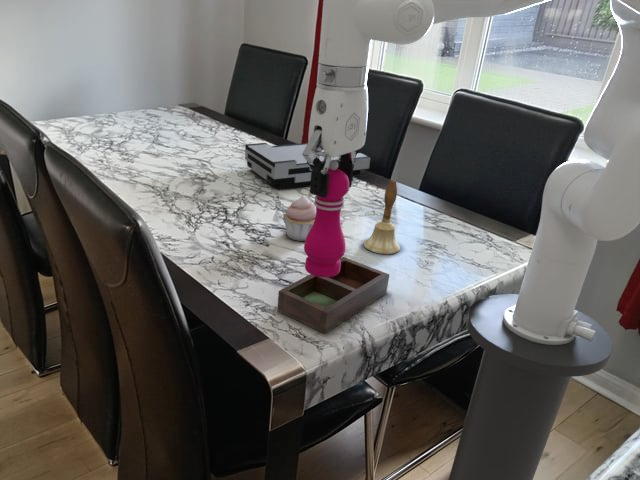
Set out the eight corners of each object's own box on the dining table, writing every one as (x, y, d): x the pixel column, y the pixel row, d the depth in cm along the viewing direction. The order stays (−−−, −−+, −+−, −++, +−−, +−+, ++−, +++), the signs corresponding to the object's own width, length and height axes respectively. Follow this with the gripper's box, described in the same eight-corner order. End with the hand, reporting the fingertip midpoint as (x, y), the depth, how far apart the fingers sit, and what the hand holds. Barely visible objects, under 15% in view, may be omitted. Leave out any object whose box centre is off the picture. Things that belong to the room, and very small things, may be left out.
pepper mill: (319, 257, 107) (330, 151, 98) (350, 270, 103) (364, 160, 93) (293, 268, 103) (302, 158, 93) (325, 283, 99) (337, 169, 89)
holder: (386, 293, 114) (389, 274, 112) (324, 334, 100) (327, 313, 98) (341, 275, 120) (343, 256, 118) (277, 311, 107) (278, 290, 105)
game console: (367, 180, 176) (370, 153, 172) (273, 191, 164) (275, 163, 160) (332, 161, 193) (334, 136, 189) (244, 170, 181) (245, 144, 177)
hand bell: (388, 237, 138) (398, 173, 130) (406, 252, 131) (418, 185, 124) (357, 241, 136) (366, 175, 128) (374, 256, 129) (384, 187, 121)
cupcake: (314, 227, 142) (317, 188, 137) (324, 243, 134) (328, 202, 129) (277, 229, 141) (279, 189, 136) (285, 244, 133) (287, 203, 128)
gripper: (328, 86, 79) (317, 209, 88) (393, 74, 91) (377, 184, 99) (286, 79, 84) (280, 197, 92) (353, 68, 95) (341, 174, 104)
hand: (330, 189), depth 96 cm, fingers closed on pepper mill, 6 cm apart
